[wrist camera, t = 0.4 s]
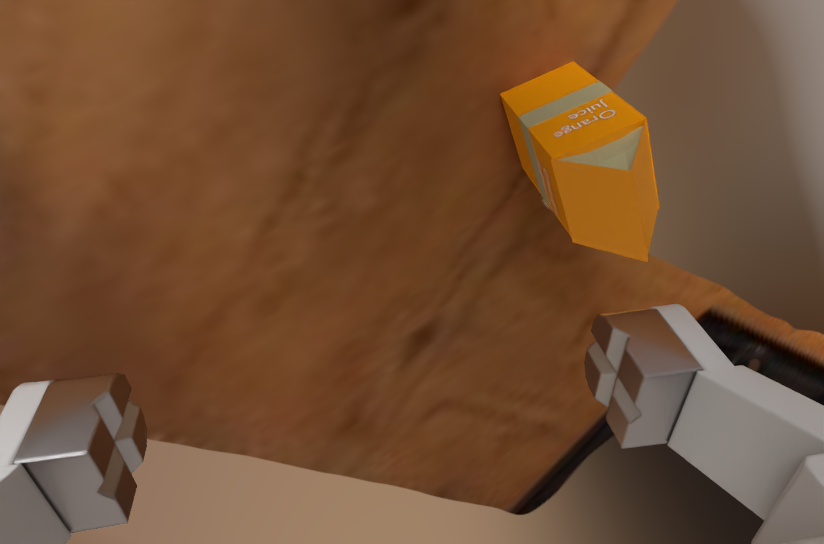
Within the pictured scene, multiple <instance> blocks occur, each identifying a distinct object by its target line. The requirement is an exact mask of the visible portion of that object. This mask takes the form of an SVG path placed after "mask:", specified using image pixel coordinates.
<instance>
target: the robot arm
mask: <svg viewBox="0 0 824 544" xmlns="http://www.w3.org/2000/svg"><path fill="white" fill-rule="evenodd" d="M591 332H592V334H593V335H594V337H595V339H596V340H595V341H594V342H593V343H592V344H591V345H590V346H589V347H588V348H587V351H586V357H585V362H584V363H585V373H586V379H587V382H588V385H589V388H590V390H591V392H592V394H593V396H594V398H595V399H596V400H598V401H599V402H601V403H602V404H604V405H605V406H607V407H608V411H607V415H606V420H607V422H608V424H609V426H610V428H611V429H612V431H613V433H614V435H615V437H616V439H617V440H618V442H619V444H620V446H621V448H631V447H639V446H647V445H655V444H663V443H668V446H669V447H670V448H672V449H673V450H674V451H675V452H677V453H678V454H679V455H681V456H682V457H683V458H685V459H686V460H687V461H688V462H690V463H691V464H692V465H694V466H695V467H696V468H697V469H699V470H700V471H701V472H703V473H704V474H705V475H707V476H708V477H709V478H710V479H712V480H713V481H714V482H715V483H717V484H718V485H719V486H721V487H722V488H723V489H724V490H726V491H727V492H728V493H730V494H731V495H732V496H734V497H735V498H736V499H738V500H739V501H740V502H741V503H743V504H744V505H745V506H746V507H748V508H749V509H750V510H752V511H753V512H754V513H756V514H757V515H758V516H759V517H761V518H762V519H763V520H764V523H763V524H762V526H761V528H760V529H759V530H758V532H757V534H756V535H755V537H754V538H753V540H752V543H751V544H824V406H823V405H821V404H819V403H817V402H815V401H813V400H811V399H809V398H807V397H805V396H803V395H801V394H799V393H797V392H795V391H793V390H791V389H789V388H787V387H785V386H783V385H781V384H779V383H777V382H775V381H773V380H771V379H769V378H767V377H765V376H763V375H761V374H759V373H757V372H755V371H753V370H751V369H749V368H747V367H745V366H743V365H741V366H734V365H733V364H732V363H731V362H730V361H729V359H728V358H727V357H726V356H725V355H724V353H723V352H722V351H721V350H720V349H719V347H718V346H717V345H716V344H715V343H714V342H713V340H712V339H711V338H710V337H709V336H708V334H707V333H706V332H705V331H704V330H703V328H702V327H701V326H700V325H699V324H698V323H697V321H696V320H695V319H694V318H693V317H692V315H691V314H690V313H689V312H688V311H687V309H686V308H685V307H683V306H681V305H679V304H672V305H665V306H657V307H651V308H644V309H636V310H628V311H621V312H613V313H605V314H598V315H597V317H596V318H595V319H594V321H593V325H592V329H591ZM131 389H132V388H131V386H130V384H129V382H128V380H127V378H126V376H125V375H124V374H120V373H115V374H105V375H95V376H85V377H74V378H64V379H55V380H52V381H41V382H30V383H22V384H21V385H19V386H18V387H17V388H15V389H14V390H13V392H12V394H11V396H10V398H9V400H8V401H7V403H6V405H5V407H4V409H3V411H2V413H1V415H0V544H65V543H66V542H67V541H68V540H69V539H70V537H71V534H70V533H74V532H79V531H85V530H91V529H97V528H101V527H108V526H114V525H119V524H125V523H128V519H129V515H130V511H131V508H132V503H133V500H134V496H135V492H136V488H137V484H136V483H135V481H134V479H133V477H132V475H131V474H132V473H133V472H134V471H135V470H136V469H137V468H138V467H139V466H140V464H141V463H142V462H143V460H144V455H145V451H146V447H147V444H146V443H147V427H146V423H145V418H144V415H143V413H142V410H141V408H140V406H138V405H136V404H135V403H133V402H131V401H129V400H128V399H129V396H130V393H131Z"/></svg>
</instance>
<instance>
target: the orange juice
mask: <svg viewBox="0 0 824 544" xmlns="http://www.w3.org/2000/svg"><path fill="white" fill-rule="evenodd" d="M500 96H501V99H502V103H503V106H504V109H505V112H506V116H507V119H508V122H509V125H510V129H511V132H512V135H513V138H514V142H515V145H516V148H517V152H518V155H519V158H520V161H521V165H522V168H523V169H524V171H525V172H526V174H527V175H528V176H529V178H530V179H531V181H532V182H533V184H534V185H535V186H536V188H537V189H538V191H539V192H540V194H541V196H542V197H543V199H544V200H545V202H546V203H547V204H548V206H549V207H550V209H552V211H553V212H554V214H555V215H556V216H557V218H558V219H559V221H560V222H561V224H562V225H563V226H564V228H565V229H566V231H567V232H568V234H569V235H570V236H571V238H572V242H573V243H577V244H581V245H585V246H588V247H592V248H596V249H600V250H604V251H607V252H611V253H615V254H619V255H622V256H626V257H630V258H634V259H638V260H641V261H645V262H648V252H649V248H650V243H651V238H652V234H653V230H654V225H655V220H656V216H657V211H658V209H660V208H659V200H658V193H657V186H656V179H655V172H654V165H653V158H652V151H651V144H650V137H649V130H648V123H647V118H646V117H645V116H643V115H642V114H641V113H639V112H638V111H637V110H636V109H634V108H633V107H632V106H631V105H629V104H628V103H626V102H625V101H624V100H623V99H621V98H620V97H619V96H618V95H616V94H615V93H614V92H613V91H612V90H611V89H610V88H608V87H607V86H606V85H605V84H603V83H602V82H601V81H598V80H597V79H596V78H594V77H593V76H592V75H591V74H589V73H588V72H587V71H585V70H584V69H583V68H582V67H580V66H579V65H578V64H576V63H575V62H574V61H572V62H570V63H568V64H566V65H563V66H561V67H559V68H557V69H554V70H552V71H550V72H548V73H545V74H543V75H541V76H539V77H537V78H534V79H532V80H530V81H528V82H525V83H523V84H521V85H519V86H516V87H514V88H512V89H510V90H507V91H505V92H503V93H501V94H500Z"/></svg>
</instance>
